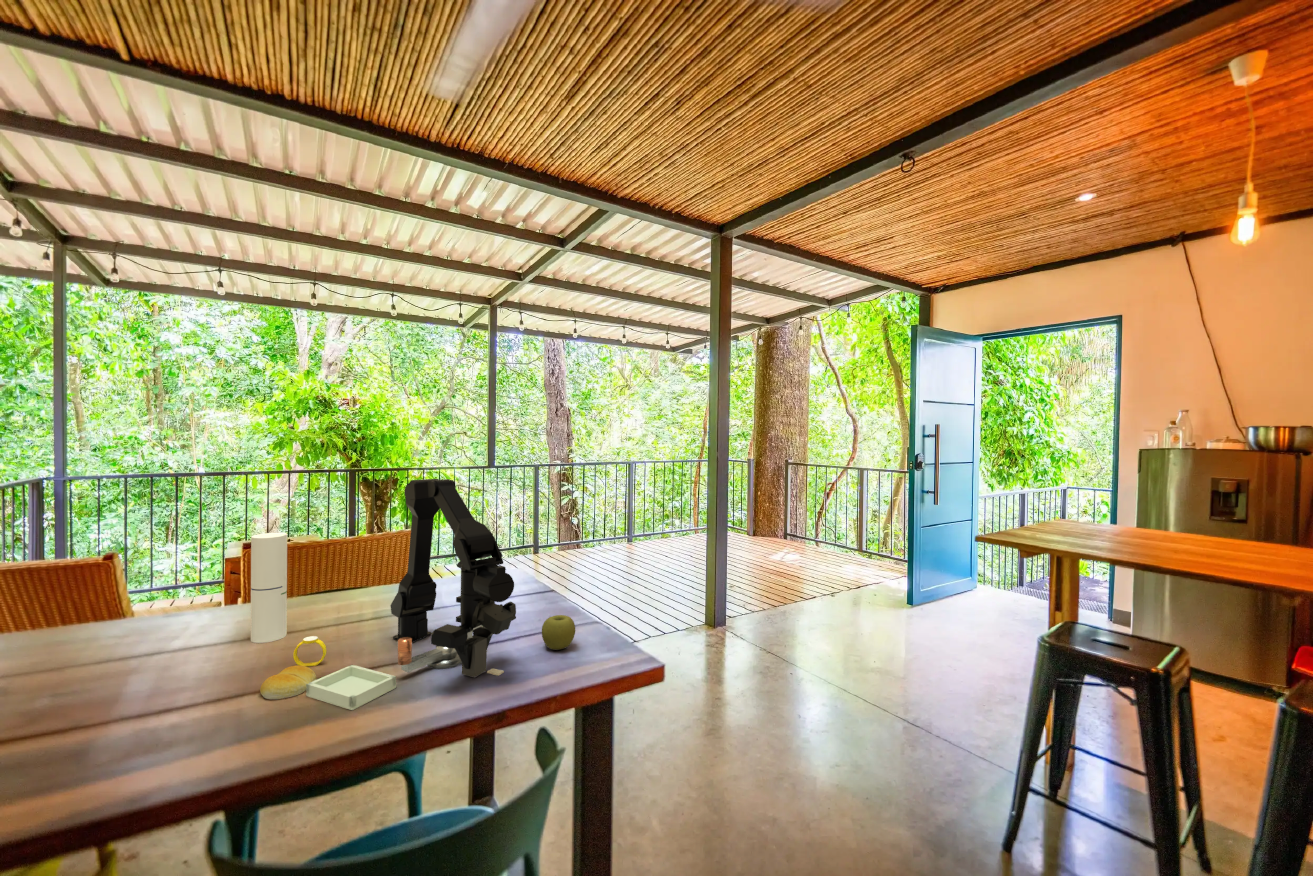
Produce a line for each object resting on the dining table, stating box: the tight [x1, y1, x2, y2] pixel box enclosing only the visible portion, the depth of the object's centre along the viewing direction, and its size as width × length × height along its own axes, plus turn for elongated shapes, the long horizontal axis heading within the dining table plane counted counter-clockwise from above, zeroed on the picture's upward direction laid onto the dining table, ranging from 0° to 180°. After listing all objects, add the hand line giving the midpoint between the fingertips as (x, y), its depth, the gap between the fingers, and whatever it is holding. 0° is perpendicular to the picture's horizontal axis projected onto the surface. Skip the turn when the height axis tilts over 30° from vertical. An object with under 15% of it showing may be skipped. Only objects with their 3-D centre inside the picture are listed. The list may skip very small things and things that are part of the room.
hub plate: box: [427, 654, 462, 670], centre depth 121 cm, size 8×8×1 cm
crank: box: [397, 637, 457, 673], centre depth 117 cm, size 14×4×7 cm, turn 147°
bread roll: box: [259, 664, 318, 700], centre depth 107 cm, size 8×9×4 cm
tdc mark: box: [486, 667, 505, 677], centre depth 115 cm, size 3×2×1 cm, turn 67°
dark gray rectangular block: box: [461, 635, 488, 678], centre depth 114 cm, size 4×4×7 cm
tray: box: [305, 664, 397, 711], centre depth 106 cm, size 10×13×2 cm
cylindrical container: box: [250, 532, 288, 644], centre depth 132 cm, size 7×7×25 cm
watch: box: [292, 635, 328, 667], centre depth 118 cm, size 6×3×6 cm, turn 106°
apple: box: [541, 614, 576, 651], centre depth 129 cm, size 8×8×7 cm
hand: (474, 665), depth 114 cm, fingers closed on dark gray rectangular block, 3 cm apart
